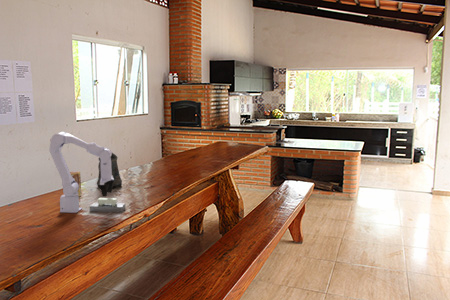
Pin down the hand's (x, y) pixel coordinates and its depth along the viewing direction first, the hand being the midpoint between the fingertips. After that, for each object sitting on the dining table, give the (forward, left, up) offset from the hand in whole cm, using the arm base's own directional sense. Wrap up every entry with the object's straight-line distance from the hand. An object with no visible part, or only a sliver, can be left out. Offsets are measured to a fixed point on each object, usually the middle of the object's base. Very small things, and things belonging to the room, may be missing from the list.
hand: (107, 194), depth 224 cm
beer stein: (-16, +48, -9) cm, 51 cm away
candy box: (-31, +25, -9) cm, 41 cm away
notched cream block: (0, 0, -9) cm, 9 cm away
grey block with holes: (0, 0, -9) cm, 9 cm away
